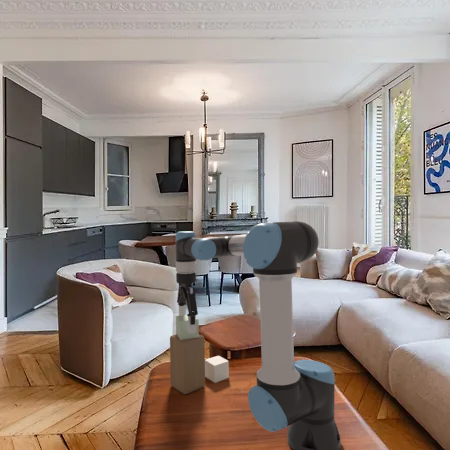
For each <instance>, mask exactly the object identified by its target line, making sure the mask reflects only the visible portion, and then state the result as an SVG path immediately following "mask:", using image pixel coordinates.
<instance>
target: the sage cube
mask: <svg viewBox="0 0 450 450" xmlns="http://www.w3.org/2000/svg"><path fill="white" fill-rule="evenodd" d="M199 329H200V327H199V318H198V317H197V316H196V333H190V334H189V333H188V316H187V314H186V315H181V316H179V315H176V316H175V335H176V334H177V336H178V337H179V338H180V340H184V339H191V338H198V337H199V334H200V333H199Z"/></svg>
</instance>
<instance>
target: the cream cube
mask: <svg viewBox="0 0 450 450" xmlns="http://www.w3.org/2000/svg"><path fill="white" fill-rule="evenodd" d="M229 362H230V361H229V360H228V359H226V358H224V357H222V356H221V355H216V356H212V357H209V358H205V379H208V380H210V381H211V382H213V383H214V384H216V383H218V382H222V381H224V380H227V379H229V378H230V376H229V375H230V373H229V372H230V371H229V369H230V368H229V367H230V365H229Z"/></svg>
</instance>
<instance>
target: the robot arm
mask: <svg viewBox="0 0 450 450" xmlns="http://www.w3.org/2000/svg"><path fill="white" fill-rule="evenodd" d="M174 243H175V271H176V273H175V275H176V276H175V277H176V279H175V281H176V283H177V284H178V292H177V296H176V299H177V300H176V302H177V306H178V316H181V315H187V316H188V333H189V334H190V333H196V317H197V316H198V314H199V313H198V306H197V305H198V304H197V300H196V298H197V297H196V291H195V290H196V288H195V287H192V284H194V283H196V282H197V272H196V271H197V265H198V262H197V260H199V261H210V260H211V259H217V258H223V257H224V258H225V257H244V259H245V260H246V261H245V262H246V264H247V265H248V266H249V267H250V268H252V270H253V275H254V276H255V277H256V278H257V279H258V281H259V282H258V284H259V285H258V287H259V289H258V291H259V312H260V313H259V314H260V317H259V318H260V345H261V353H260V354H261V367H260V368H259V369H258V370H257V372H256V385H253V386H252V387H251V388H250V389H249V391H248V392H247V393H248V395H247V399H248V401H247V402H248V406H249V409H250V411H251V413H252V415H253V417H254V419H255V421H256V422H257V423H258V425H260V426H261V428H263V429H264V430H266V431H268V432H272V433H274V432H278V431H281V430H285V429H287V435H286V439H287V441H286V442H287V444H288V446H289V447H290V448H291V450H341V447H342V445H341V443H342V442H341V440H342V439H341V436H340V432H339V429H338V426H337V422H336V420H335V391H336V390H335V388H336V387H335V384H336V381H335V380H336V379H335V372H334V369H332V368H331V366H329V365H327V364H326V363H323V362H320V361H318V360H313V359H298V360H296V361H295V350H294V322H293V321H294V319H293V292H292V291H293V286H292V285H293V284H292V283H293V282H292V279H293V278H294V277H295V276H296V275H297V274H298V264H300V263H304V262H307V261H309V260H311V259H312V258H313V257H314V255H315V254H316V253H317V251H318V249H319V243H320V241H319V236H318V233H317V231H316V230H315V229H314V227H312V226H311V225H310V224H308V223H307V222H302V221H275V222H274V221H268V222H263V223H258V224H254V225H253V226H252V227H251V228H250V229H249V231H248V232H247V233H246V234H239V235H238V234H236V235H229V236H228V235H227V236H214V237H213V236H212V237H196V232H195V231H193V230H191V231H186V230H185V231H177V232H176V233H175V241H174ZM287 427H288V428H287Z"/></svg>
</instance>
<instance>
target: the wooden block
mask: <svg viewBox="0 0 450 450" xmlns="http://www.w3.org/2000/svg"><path fill="white" fill-rule="evenodd" d="M205 345H206V344H205V336H204V335H202V334H200V333H199V337H198V338H191V339H184V340H180V338H179V337H178V336H177V334H176V333H175V334H173V335H171V336H169V354H170V355H169V357H170V359H169V363H170V367H169V368H170V371H169V372H170V386H171V388H174V389H175V390H177V391H178V392H180V393H182V394H183V395H188V394H190V393H193V392H195V391H197V390H199V389H202V388H204V387H205V385H206V377H205V360H206V357H205V356H206V355H205V352H206V351H205V350H206V349H205Z"/></svg>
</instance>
